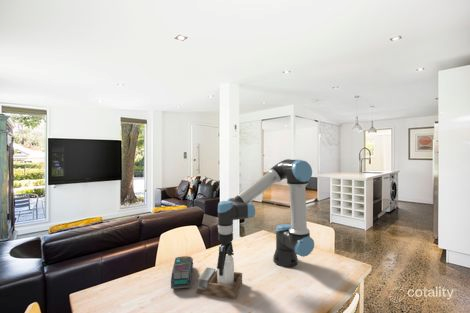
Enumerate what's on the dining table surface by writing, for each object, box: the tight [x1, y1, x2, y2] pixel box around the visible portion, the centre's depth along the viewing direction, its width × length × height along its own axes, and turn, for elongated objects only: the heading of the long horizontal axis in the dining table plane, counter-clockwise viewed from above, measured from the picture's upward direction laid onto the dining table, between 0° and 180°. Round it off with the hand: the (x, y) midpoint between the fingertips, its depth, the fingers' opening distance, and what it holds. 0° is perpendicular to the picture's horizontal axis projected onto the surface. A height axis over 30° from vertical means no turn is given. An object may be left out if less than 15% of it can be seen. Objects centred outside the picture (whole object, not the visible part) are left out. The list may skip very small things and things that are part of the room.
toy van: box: [170, 255, 194, 289], centre depth 131 cm, size 11×25×10 cm, turn 8°
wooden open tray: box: [195, 267, 243, 300], centre depth 121 cm, size 20×14×6 cm
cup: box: [216, 254, 235, 286], centre depth 120 cm, size 8×8×14 cm
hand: (225, 274), depth 121 cm, fingers open, 13 cm apart
